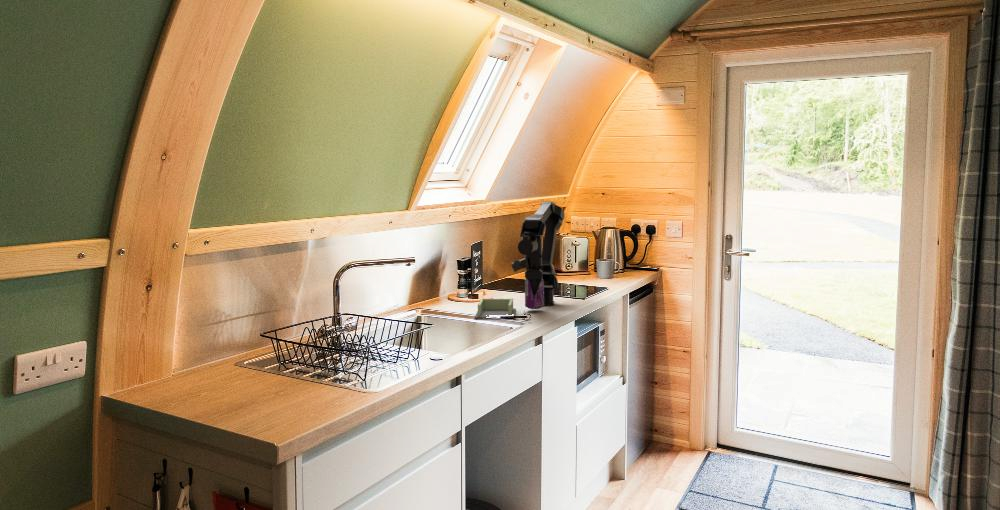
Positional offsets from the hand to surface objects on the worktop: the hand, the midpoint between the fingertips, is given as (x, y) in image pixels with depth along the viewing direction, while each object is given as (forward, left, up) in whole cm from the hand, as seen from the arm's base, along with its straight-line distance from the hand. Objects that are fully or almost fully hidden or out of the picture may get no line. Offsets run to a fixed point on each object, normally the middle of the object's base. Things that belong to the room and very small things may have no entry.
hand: (534, 293), depth 290 cm
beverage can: (0, 0, -6) cm, 6 cm away
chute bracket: (+6, -14, -7) cm, 17 cm away
